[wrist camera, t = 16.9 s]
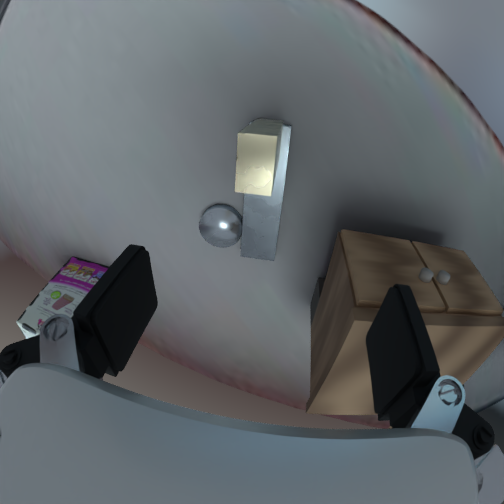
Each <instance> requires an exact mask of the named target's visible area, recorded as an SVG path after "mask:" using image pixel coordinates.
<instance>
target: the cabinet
mask: <svg viewBox="0 0 504 504" xmlns="http://www.w3.org/2000/svg"><path fill="white" fill-rule="evenodd" d="M395 284H403V285H409V286H410V288H411V290H412V292H413V295H414V297H415V300H416V302H417V305H418V307H419V310H420V312H421V315H422V318H423V320H424V323H425V326H426V328H427V331H428V334H429V337H430V340H431V343H432V346H433V349H434V352H435V355H436V358H437V362H438V365H439V368H440V375H441V377H442V376H445V375H448V376H452V377H454V378H456V379H457V380H458V381H459V382H460V383H461V384H462V385H463V384H464V383H465V382H466V381H467V380H468V379H469V378H470V377H471V376H472V374H473V373H474V372H475V371H476V370H477V369H478V368H479V367H480V366H481V365H482V363H483V362H484V361H485V360H486V359H487V358H488V357H489V355H490V354H491V353H492V352H493V351H494V349H495V348H496V347H497V346H498V344H499V343H500V342H501V340H502V339H503V338H504V317H502V315H501V314H502V313H503V311H504V310H503V308H502V307H501V305H500V303H499V302H498V300H497V299H496V297H495V295H494V294H493V292H492V291H491V289H490V288H489V286H488V284H487V283H486V281H485V280H484V279H483V277H482V276H481V274H480V273H479V271H478V270H477V268H476V267H475V266H474V264H473V263H472V262H471V260H470V259H469V257H468V256H467V255H466V253H465V252H464V251H462V250H457V249H452V248H447V247H442V246H437V245H431V244H426V243H421V242H415V241H412V243H411V242H410V241H409V240H404V239H399V238H393V237H387V236H381V235H376V234H370V233H363V232H357V231H351V230H345V229H342V230H341V232H338V233H337V237H336V241H335V245H334V249H333V253H332V257H331V260H330V264H329V268H328V271H327V275H326V279H322V278H318V280H317V284H316V288H315V292H314V295H313V299H312V302H311V379H310V398H309V400H308V402H307V403H306V413H309V414H329V415H374V414H376V413H375V411H374V403H373V393H372V384H371V376H370V368H369V361H368V354H367V347H366V335H367V332H368V330H369V328H370V327H371V325H372V323H373V321H374V319H375V317H376V315H377V313H378V311H379V309H380V307H381V304H382V302H383V300H384V298H385V296H386V294H387V292H388V289H389V288H390V287H393V286H394V285H395Z"/></svg>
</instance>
